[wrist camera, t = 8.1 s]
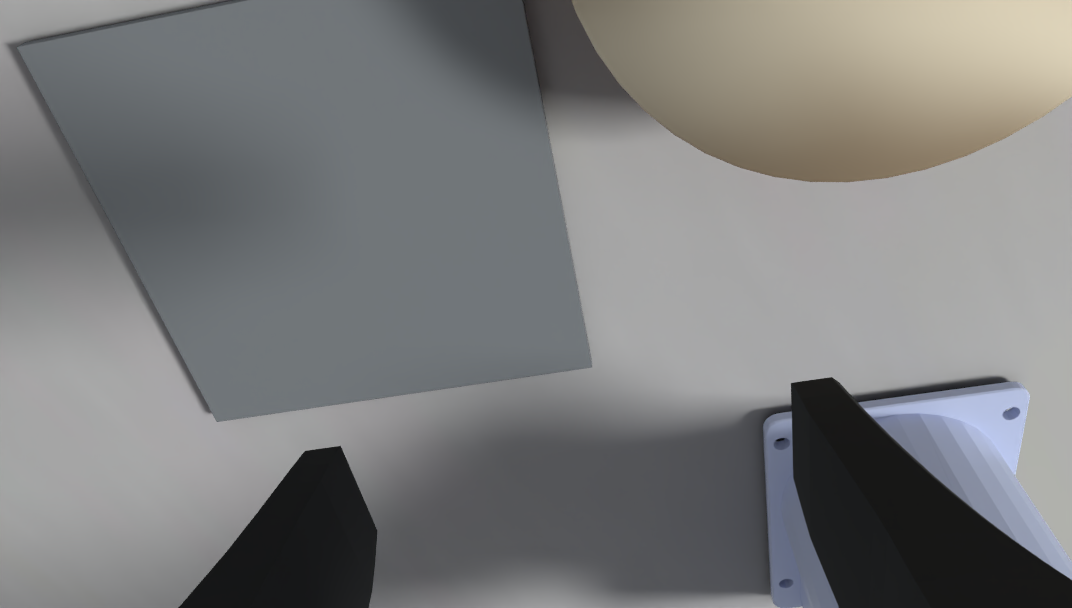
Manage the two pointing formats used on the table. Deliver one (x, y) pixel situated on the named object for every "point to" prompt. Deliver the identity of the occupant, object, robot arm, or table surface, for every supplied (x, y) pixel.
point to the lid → (837, 77)
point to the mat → (328, 193)
